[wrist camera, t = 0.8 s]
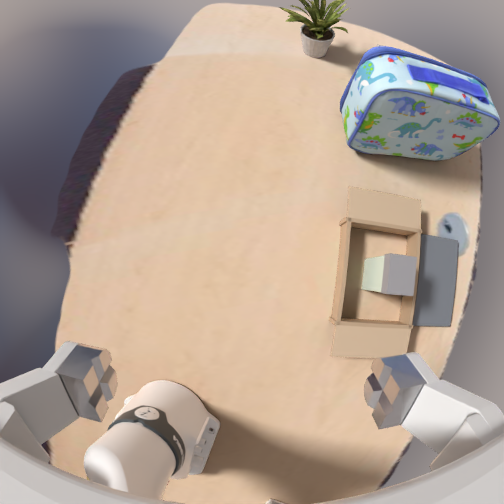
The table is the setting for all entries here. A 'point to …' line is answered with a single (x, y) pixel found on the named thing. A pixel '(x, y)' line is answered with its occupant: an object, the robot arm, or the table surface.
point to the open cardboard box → (346, 330)
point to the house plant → (317, 26)
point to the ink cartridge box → (273, 502)
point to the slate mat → (435, 281)
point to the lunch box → (415, 107)
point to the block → (390, 274)
